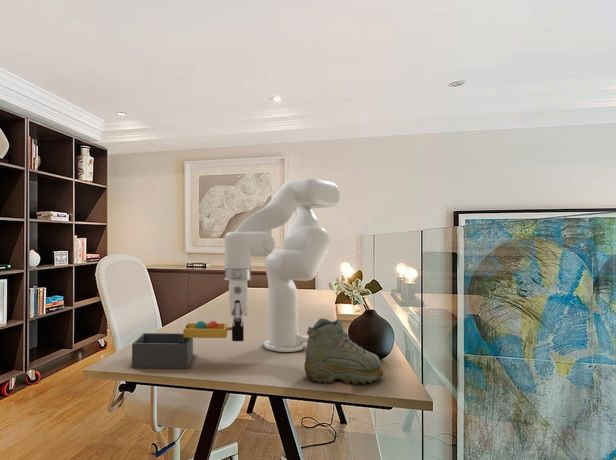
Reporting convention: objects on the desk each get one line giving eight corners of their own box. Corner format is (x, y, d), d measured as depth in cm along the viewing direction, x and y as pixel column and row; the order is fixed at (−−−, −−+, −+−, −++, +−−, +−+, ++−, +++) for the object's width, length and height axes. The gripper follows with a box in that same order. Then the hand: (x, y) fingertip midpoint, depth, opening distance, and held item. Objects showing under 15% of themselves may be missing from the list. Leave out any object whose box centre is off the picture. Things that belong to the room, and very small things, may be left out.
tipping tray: (241, 331, 114) (241, 322, 114) (241, 338, 106) (240, 328, 106) (187, 331, 115) (187, 322, 115) (183, 337, 107) (183, 328, 107)
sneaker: (389, 388, 89) (386, 322, 91) (304, 383, 93) (303, 320, 95) (380, 376, 99) (377, 317, 101) (304, 373, 103) (303, 316, 105)
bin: (192, 355, 116) (193, 325, 117) (187, 368, 104) (187, 334, 104) (143, 354, 117) (143, 324, 117) (131, 367, 105) (132, 334, 105)
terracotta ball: (218, 331, 112) (219, 320, 112) (217, 334, 109) (218, 322, 109) (207, 330, 112) (208, 319, 112) (206, 333, 109) (207, 321, 109)
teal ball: (206, 331, 112) (207, 320, 112) (205, 334, 109) (206, 322, 109) (195, 330, 112) (196, 319, 112) (194, 333, 109) (194, 321, 109)
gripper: (251, 277, 102) (251, 346, 101) (250, 272, 119) (250, 331, 118) (223, 277, 102) (223, 346, 102) (225, 272, 119) (225, 331, 118)
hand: (237, 337), depth 110 cm, fingers closed on tipping tray, 4 cm apart
